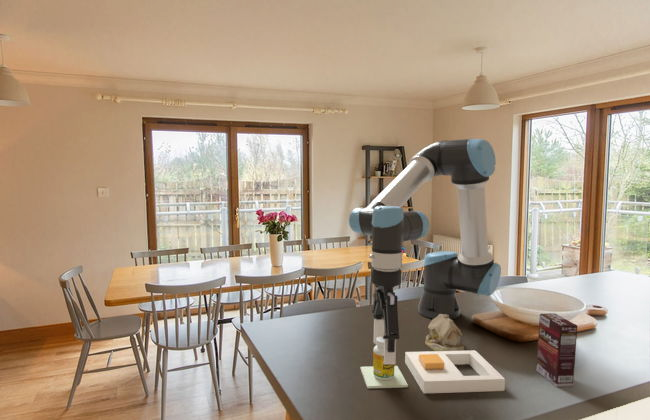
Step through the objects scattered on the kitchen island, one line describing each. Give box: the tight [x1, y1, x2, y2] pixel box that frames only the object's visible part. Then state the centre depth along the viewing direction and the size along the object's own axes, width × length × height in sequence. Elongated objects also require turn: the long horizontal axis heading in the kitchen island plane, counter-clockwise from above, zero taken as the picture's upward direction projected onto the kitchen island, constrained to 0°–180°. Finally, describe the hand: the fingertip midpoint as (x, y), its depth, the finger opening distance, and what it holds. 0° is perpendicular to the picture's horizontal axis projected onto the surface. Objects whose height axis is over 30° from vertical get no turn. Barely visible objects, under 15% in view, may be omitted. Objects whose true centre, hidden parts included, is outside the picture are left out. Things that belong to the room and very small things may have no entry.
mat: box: [359, 365, 409, 389], centre depth 104 cm, size 10×10×1 cm
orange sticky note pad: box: [419, 354, 445, 369], centre depth 105 cm, size 5×5×4 cm
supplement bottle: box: [372, 336, 395, 380], centre depth 104 cm, size 5×5×10 cm
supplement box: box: [535, 312, 578, 388], centre depth 104 cm, size 9×5×16 cm, turn 5°
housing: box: [404, 349, 506, 394], centre depth 106 cm, size 16×20×3 cm
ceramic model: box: [425, 314, 466, 351], centre depth 124 cm, size 14×11×10 cm
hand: (383, 352), depth 104 cm, fingers open, 11 cm apart
